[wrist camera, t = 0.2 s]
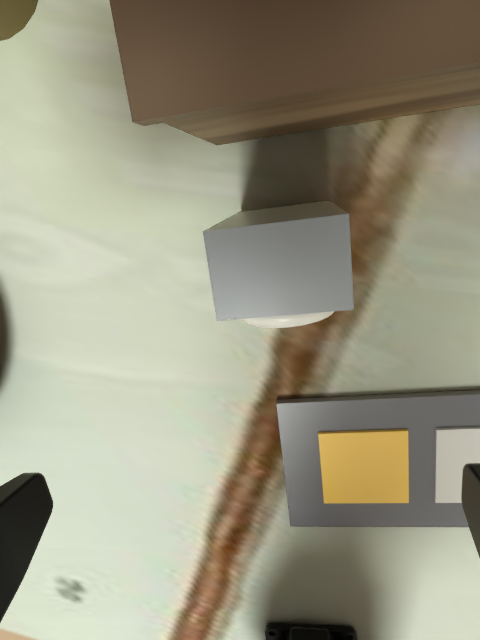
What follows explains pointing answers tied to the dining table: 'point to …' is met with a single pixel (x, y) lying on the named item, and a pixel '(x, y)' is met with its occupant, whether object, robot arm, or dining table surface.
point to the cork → (15, 16)
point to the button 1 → (281, 265)
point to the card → (379, 458)
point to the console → (294, 62)
